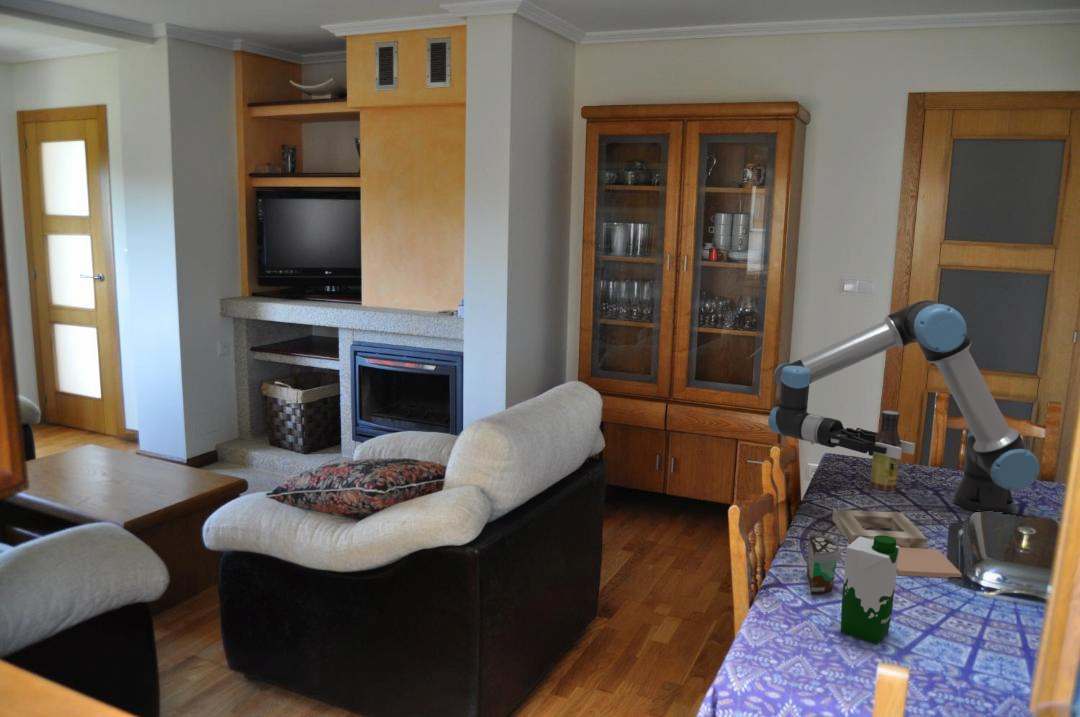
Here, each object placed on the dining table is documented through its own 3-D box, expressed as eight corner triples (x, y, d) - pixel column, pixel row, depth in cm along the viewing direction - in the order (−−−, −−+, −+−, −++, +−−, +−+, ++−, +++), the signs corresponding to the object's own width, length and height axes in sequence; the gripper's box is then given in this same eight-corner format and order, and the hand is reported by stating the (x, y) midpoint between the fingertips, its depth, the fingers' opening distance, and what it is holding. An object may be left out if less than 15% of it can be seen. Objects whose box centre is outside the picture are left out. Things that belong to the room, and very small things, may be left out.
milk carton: (880, 648, 163) (890, 549, 159) (833, 632, 168) (842, 536, 165) (894, 631, 169) (905, 536, 166) (849, 616, 175) (858, 524, 171)
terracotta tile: (937, 553, 208) (937, 549, 208) (961, 578, 194) (961, 573, 194) (878, 551, 209) (879, 546, 209) (898, 575, 195) (898, 570, 195)
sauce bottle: (891, 494, 211) (899, 417, 207) (866, 488, 215) (873, 412, 211) (899, 487, 216) (907, 412, 213) (874, 482, 220) (881, 407, 216)
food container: (841, 600, 182) (845, 556, 180) (811, 597, 183) (815, 553, 181) (833, 576, 194) (837, 534, 192) (805, 573, 195) (809, 532, 193)
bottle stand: (900, 523, 228) (901, 512, 227) (925, 550, 210) (927, 538, 210) (832, 520, 229) (833, 509, 228) (851, 546, 211) (852, 535, 211)
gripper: (841, 438, 234) (923, 459, 217) (802, 450, 222) (886, 473, 204) (843, 412, 233) (927, 430, 215) (804, 422, 220) (889, 442, 203)
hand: (907, 451), depth 210 cm, fingers closed on sauce bottle, 6 cm apart
